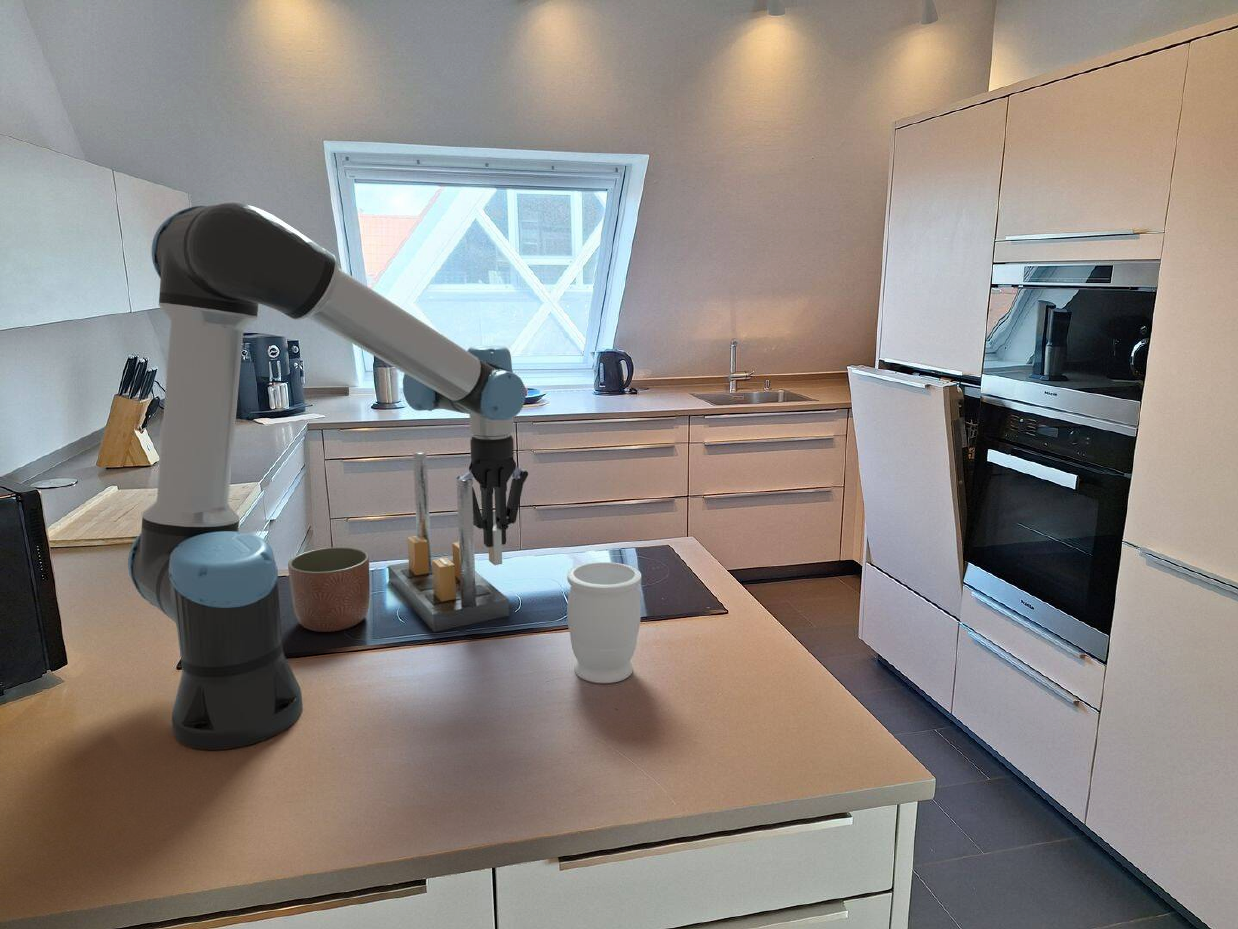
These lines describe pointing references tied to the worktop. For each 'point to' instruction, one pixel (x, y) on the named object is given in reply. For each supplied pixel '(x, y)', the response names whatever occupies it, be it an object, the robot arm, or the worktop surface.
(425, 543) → the tan wooden block
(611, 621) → the jar
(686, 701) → the worktop surface
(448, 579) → the slotted wooden block
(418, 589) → the peg stand with blocks
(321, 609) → the planter
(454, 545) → the tan upright block
